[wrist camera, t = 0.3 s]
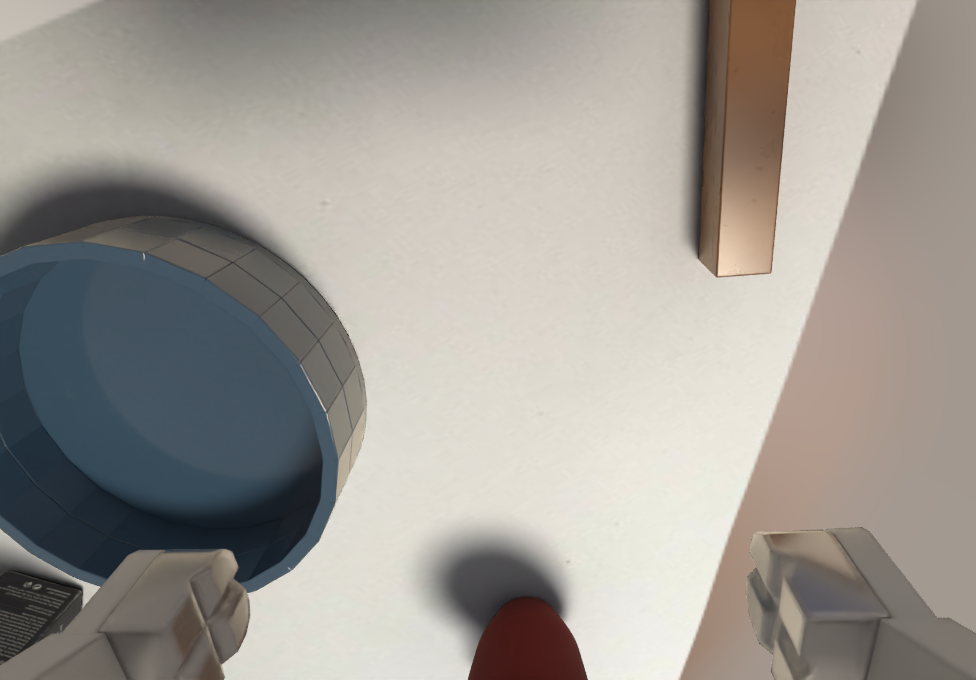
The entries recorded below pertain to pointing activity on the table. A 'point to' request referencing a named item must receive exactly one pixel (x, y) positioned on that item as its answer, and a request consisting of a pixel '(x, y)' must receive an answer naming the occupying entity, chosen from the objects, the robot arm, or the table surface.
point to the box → (32, 611)
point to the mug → (527, 645)
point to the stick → (744, 133)
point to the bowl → (170, 399)
